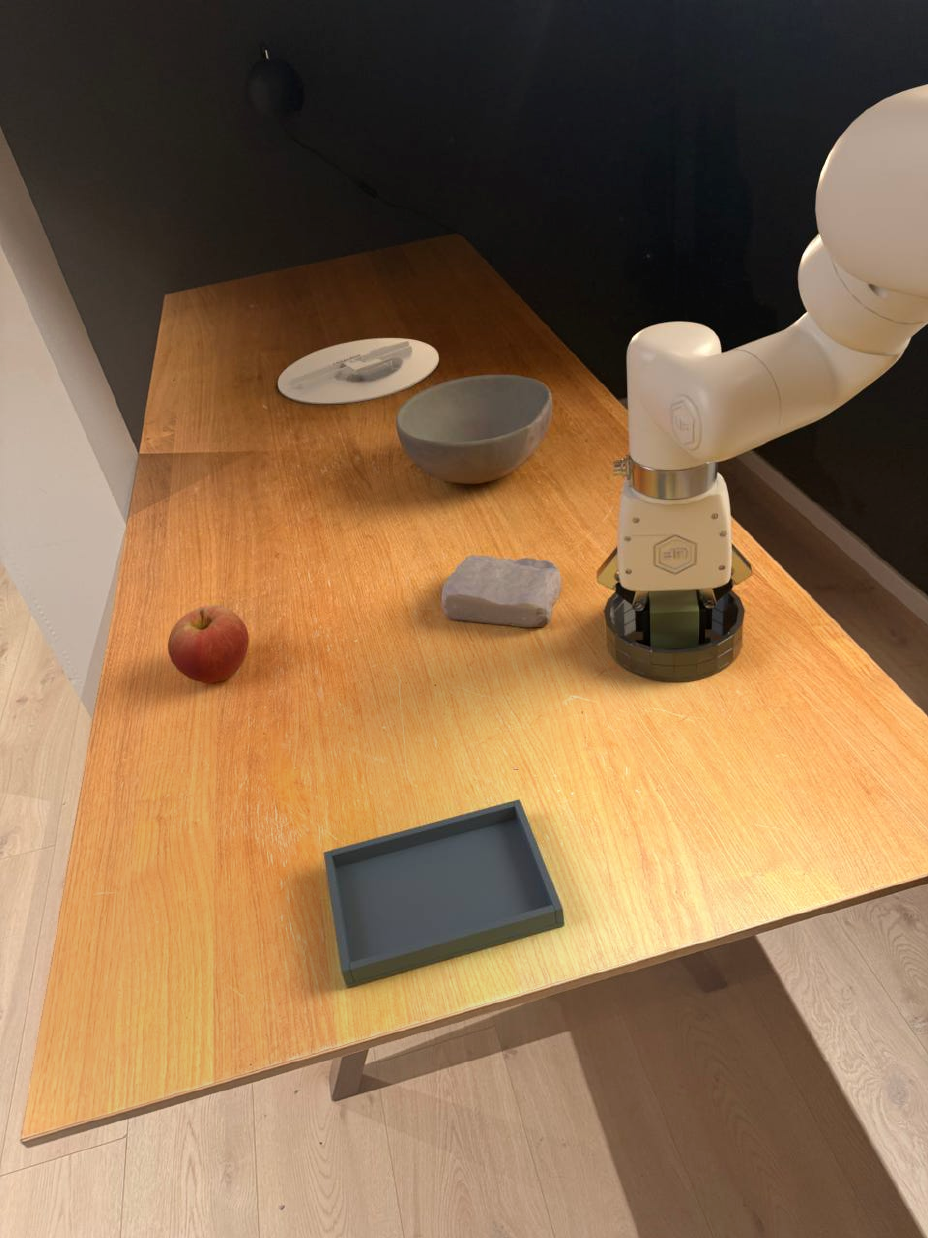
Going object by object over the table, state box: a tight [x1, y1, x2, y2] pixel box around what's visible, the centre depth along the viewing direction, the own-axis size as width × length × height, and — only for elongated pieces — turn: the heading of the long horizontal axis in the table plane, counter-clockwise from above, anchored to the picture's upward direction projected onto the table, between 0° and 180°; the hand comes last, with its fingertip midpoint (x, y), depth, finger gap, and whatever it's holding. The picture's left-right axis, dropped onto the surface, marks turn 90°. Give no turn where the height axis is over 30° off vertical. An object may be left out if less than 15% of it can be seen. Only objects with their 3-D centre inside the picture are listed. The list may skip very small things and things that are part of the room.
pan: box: [603, 588, 746, 683], centre depth 93 cm, size 13×13×4 cm
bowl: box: [395, 374, 553, 485], centre depth 125 cm, size 20×20×10 cm
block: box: [649, 590, 699, 649], centre depth 92 cm, size 4×4×4 cm
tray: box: [323, 798, 565, 989], centre depth 72 cm, size 16×11×2 cm
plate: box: [277, 337, 440, 405], centre depth 163 cm, size 28×28×1 cm
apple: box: [167, 604, 250, 684], centre depth 97 cm, size 8×8×8 cm
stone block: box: [441, 554, 563, 628], centre depth 102 cm, size 12×5×10 cm
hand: (673, 632), depth 94 cm, fingers closed on block, 4 cm apart
